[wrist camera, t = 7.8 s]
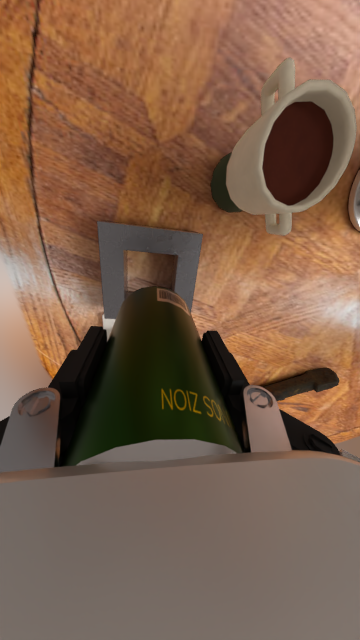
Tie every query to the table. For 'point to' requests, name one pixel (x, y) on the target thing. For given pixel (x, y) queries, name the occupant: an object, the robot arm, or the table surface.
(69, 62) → the table surface
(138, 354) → the beer can
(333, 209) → the table surface
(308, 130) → the character mug
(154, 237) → the socket block
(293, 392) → the hand tool
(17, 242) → the table surface
